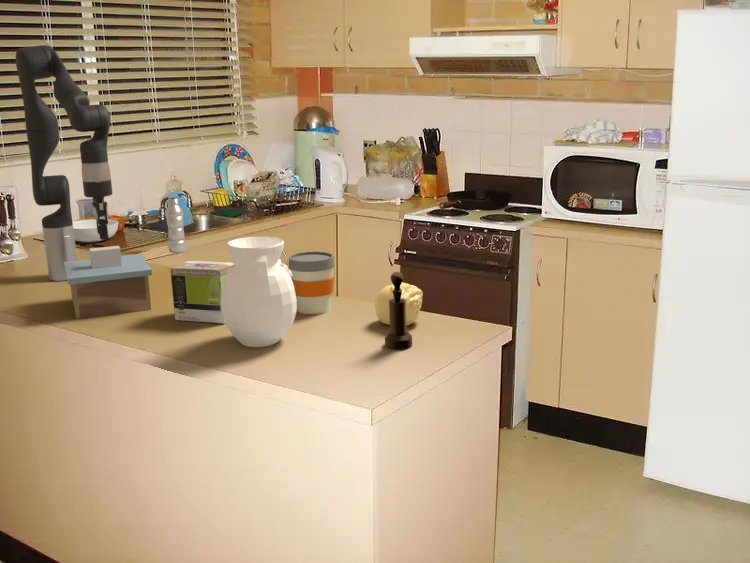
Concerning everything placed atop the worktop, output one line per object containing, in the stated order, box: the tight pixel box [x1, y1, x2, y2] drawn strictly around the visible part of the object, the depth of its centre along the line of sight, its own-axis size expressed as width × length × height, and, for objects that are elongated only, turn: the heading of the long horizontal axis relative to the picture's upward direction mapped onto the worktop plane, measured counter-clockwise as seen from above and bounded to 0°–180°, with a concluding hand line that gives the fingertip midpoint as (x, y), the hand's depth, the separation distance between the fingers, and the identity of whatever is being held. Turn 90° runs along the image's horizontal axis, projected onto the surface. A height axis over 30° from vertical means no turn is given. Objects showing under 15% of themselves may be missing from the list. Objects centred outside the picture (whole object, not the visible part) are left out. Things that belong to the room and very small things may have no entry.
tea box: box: [169, 260, 235, 324], centre depth 228 cm, size 15×10×15 cm, turn 71°
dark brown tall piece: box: [384, 271, 413, 350], centre depth 201 cm, size 7×6×18 cm
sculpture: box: [374, 282, 424, 327], centre depth 219 cm, size 11×12×11 cm
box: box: [70, 276, 152, 320], centre depth 243 cm, size 20×20×10 cm
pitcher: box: [220, 236, 298, 348], centre depth 206 cm, size 19×18×25 cm
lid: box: [64, 245, 153, 286], centre depth 241 cm, size 22×22×7 cm
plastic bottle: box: [164, 196, 188, 254], centre depth 307 cm, size 6×7×20 cm
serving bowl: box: [72, 218, 119, 244], centre depth 335 cm, size 21×21×7 cm
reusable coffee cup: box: [288, 251, 336, 315], centre depth 233 cm, size 12×13×15 cm
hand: (103, 236), depth 239 cm, fingers open, 8 cm apart
